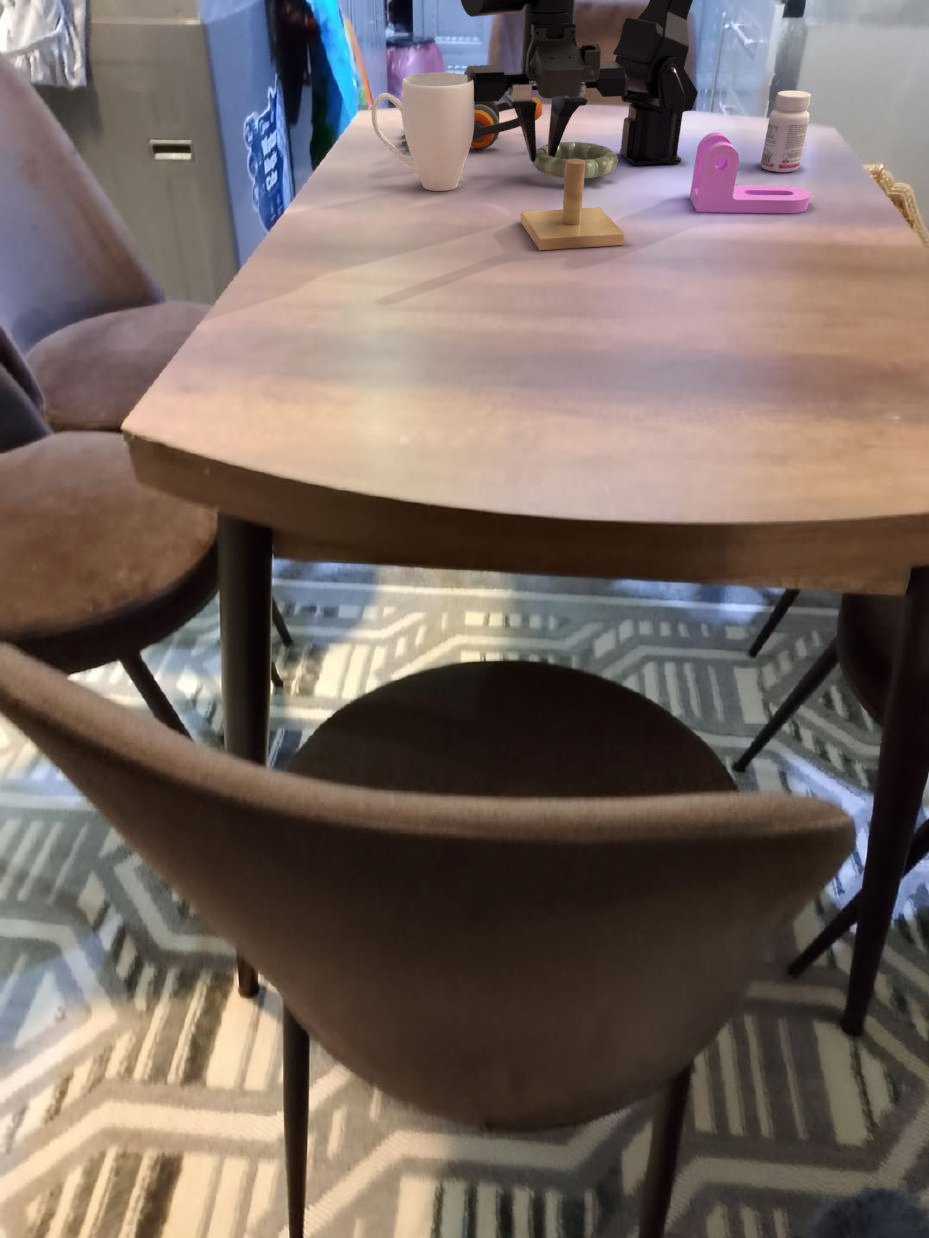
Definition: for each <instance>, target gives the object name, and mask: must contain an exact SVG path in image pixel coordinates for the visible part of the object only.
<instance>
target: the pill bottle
mask: <svg viewBox="0 0 929 1238" xmlns="http://www.w3.org/2000/svg"><path fill="white" fill-rule="evenodd" d="M811 97H812V94H811V93H810V92H807V91H801V90H782V91H778V92H777V93H776V97H775V104H774V107H775V109H773V110H772V111H771V112H770V115H769V118H768V124H767V130H766V134H765V139H764V144H763V149H762V155H761V160H760V167H761V169H763V170H765V171H769V172H776V173H791V172H794V171H797V170H798V169H799V168H800V164H801V159H802V154H803V150H804V146H805V145H804V144H805V141H806V136H807V132H808V126H809V121H810V112H808V110H807V109H809V107H810V102H811Z"/></svg>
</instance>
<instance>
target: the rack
mask: <svg viewBox="0 0 929 1238" xmlns="http://www.w3.org/2000/svg"><path fill="white" fill-rule="evenodd" d="M584 175H585V160H582V159H568V160H566V168H565V178H564V185H563V200H562V208H561V209H545V210H544V209H543V210H526V211H525V210H523V211H521V212H520V223H521V225H522V227H523V228H524V230H525V231H526V232H527V235H528V236H529V237H530V238H531V241H533V243H534V244H535V245H536V248H537V249H538V250H539V251H550V250H563V249H564V250H566V249H581V248H598V247H615V246H623V245H624V241H625V240H624V239H625V233H624V232H623V230H621V228H620V227H619V226H618V225H617V224H616V223H615V222H614V221H613V220H612V219H611V217H610V216H609V215H608V214H607V213H606V212H605V211H604V210H603V209H602V208H601V206H600V207H599V206H598V207H583V197H584V188H585V187H584V185H585V178H584Z"/></svg>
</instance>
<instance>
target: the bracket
mask: <svg viewBox="0 0 929 1238" xmlns="http://www.w3.org/2000/svg"><path fill="white" fill-rule="evenodd" d="M739 164H740V157H739V154H738V152H737V150H736V149H735V147H734V146H733V145H732V143H731V141H730V140H729V138H728V137H727V135H725V134H724V133H722V132H717V131H714V132H710V133H708V134H706V135H705V136H703V138H702V139H701V140H700V142H698V145H697V149H696V154H695V160H694V168H693V173H692V179H691V180H692V181H691V185H690V187H691V188H690V193H689V198H690V201H691V203H692V205H693V208H694V210H695V212H696V213H727V214H729V213H733V214H735V213H738V214H749V213H750V214H798V213H799V214H800V213H803V212H805V211H807V210H808V207H809V204H810V203H809V202H810V198H811V193H810V192H809V191H807V190H805V189H803V188H799V187H795V186H789V185H752V184H751V185H749V184H748V185H745V184H736V181H737V180H736V179H737V176H738V175H737V174H738V169H739Z"/></svg>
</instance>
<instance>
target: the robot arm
mask: <svg viewBox="0 0 929 1238" xmlns="http://www.w3.org/2000/svg"><path fill="white" fill-rule="evenodd" d="M693 2H694V0H649V1H648V4H647V6H646V8H644V10H643V11H642V12H641V13H640V14H639V16H638V17H637V18H634V17H630V16H627V17H626V18H625V19H624V22H623V24H622V28H621V32H620V38H619V41H618V42H617V44H616V47H615V48H614V50H613V52H612V54H613V56H615V59H614V60H601V58H602V49H601V46H600V44H599V43H588V44H585V43H584V44H582V45H581V46H578V44H577V39H576V37H577V35H576V34H577V30H576V28H577V24H576V23H575V8H576V0H460V4H461V6H462V8H463V10H464V12H465V13H466V14H467V15H468V16H469V17H471V18H475V17H487V16H497V15H508V14H509V15H510V14H518V13H520V12H522V10H523V17H522V18H521V28H522V50H521V52H522V53H521V58H520V69H521V72H505V71H504V70H503V69H502V68H501V67H500V66H499V65H498V64H482V65H481V64H478V65H477V64H475V65H468V67H466V68H465V70H464V73H463V74H464V75H467V83H468V82H470V81H472V80H473V82H474V102H489V101H494V102H499V101H500V100H501V99H502V100H503V101H504V102H506V103H507V104H508V105H509V106H510V107H512V108H514V112H515V114H516V116H517V117H518V119H519V122H520V125H521V127H520V128H521V132H522V135H523V138H524V139H523V140H524V143H525V145H526V150H527V154H528V157H529V161H531V163H532V162H535V157H536V150H537V133H536V132H537V131H536V121H535V112H536V106H537V103H536V102H535V101H534V100H533V99H532V97H533V91H537V94H538V95H539V96H540V97H541V98H543V99H551V105H550V116H549V117H550V118H549V129H548V138H547V139H548V140H547V145H548V155H549V156H552V157H555V155H556V152H557V149H558V147H559V144H560V142H562V140H563V139H562V138H563V135H564V134H565V131H566V129H567V126H568V124H569V122H570V120H571V118H572V116H573V115H574V113H575V112H576V111H577V110H578V108H579V107H582V106H586V105H587V103H588V101H589V100H588V99H587V98H586V97H585V93H586V92H587V89H596V91H597V92H598V93H599V95H600V96H601V97H602V98H610V97H611V98H614V97H621V98H620V99H621V101H622V102H623V103H628V113H627V116H626V117H624V119H623V123H622V133H621V134H622V135H621V143H620V144H621V146H620V149H619V154H620V155H622V156H623V157H624V158H625V159H626V160H627V161H628V162H630V164H632V165H634V166H643V165H645V166H646V165H665V164H667V165H668V164H680V163H682V158H681V157H680V156H679V155H678V151H679V150H678V149H679V143H680V135H681V127H682V121H683V116H684V115H683V114H684V113H685V112H690V111H692V109H693V107H694V105H695V102H696V99H697V97H698V94H699V93H698V90H697V87H696V86H695V84H694V83H693V81H692V80H691V77H690V76H689V75H688V73H687V71H686V69H685V66H686V62H687V58H688V54H689V50H690V42H689V41H690V40H689V28H688V18H689V17H688V16H689V13H690V10H691V7H692V4H693Z"/></svg>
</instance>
